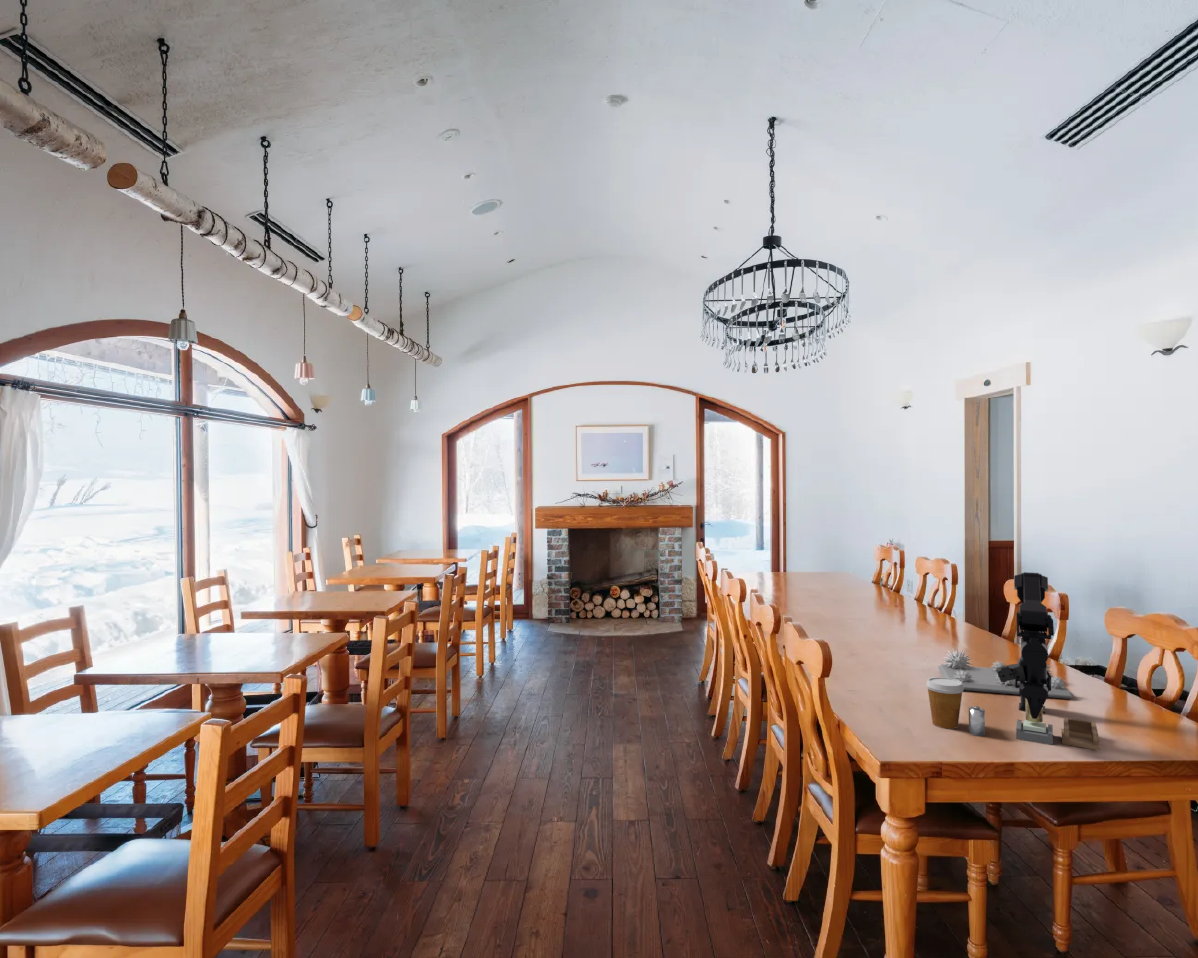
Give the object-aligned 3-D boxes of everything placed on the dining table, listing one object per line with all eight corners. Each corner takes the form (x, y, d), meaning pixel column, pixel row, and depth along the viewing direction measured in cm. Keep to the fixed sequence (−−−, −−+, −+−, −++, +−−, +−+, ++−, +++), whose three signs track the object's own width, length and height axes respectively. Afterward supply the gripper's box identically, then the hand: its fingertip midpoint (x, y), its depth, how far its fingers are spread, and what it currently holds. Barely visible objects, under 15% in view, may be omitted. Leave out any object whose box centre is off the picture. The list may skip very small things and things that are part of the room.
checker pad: (1023, 723, 186) (1023, 719, 186) (1045, 727, 183) (1045, 723, 183) (1023, 729, 182) (1023, 725, 182) (1045, 732, 179) (1045, 728, 179)
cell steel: (969, 729, 188) (969, 703, 188) (985, 732, 186) (985, 706, 186) (968, 734, 185) (968, 707, 185) (984, 737, 183) (984, 710, 183)
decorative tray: (948, 692, 224) (948, 661, 224) (937, 671, 248) (936, 643, 248) (1075, 702, 212) (1074, 669, 213) (1050, 679, 237) (1049, 650, 237)
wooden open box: (1061, 732, 186) (1061, 717, 186) (1098, 737, 182) (1098, 722, 182) (1062, 743, 178) (1062, 728, 178) (1100, 750, 173) (1100, 734, 173)
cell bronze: (1025, 716, 185) (1025, 690, 185) (1042, 719, 183) (1042, 692, 183) (1025, 720, 182) (1025, 693, 182) (1042, 723, 180) (1042, 696, 180)
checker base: (1017, 729, 188) (1017, 719, 188) (1052, 735, 184) (1052, 724, 184) (1016, 738, 181) (1016, 728, 181) (1052, 744, 177) (1052, 733, 177)
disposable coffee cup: (952, 718, 197) (952, 676, 197) (971, 730, 188) (971, 686, 188) (919, 719, 197) (919, 676, 197) (937, 731, 187) (936, 686, 187)
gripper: (1000, 646, 195) (1000, 701, 195) (996, 660, 179) (997, 721, 179) (1047, 651, 189) (1048, 708, 189) (1047, 666, 173) (1048, 729, 173)
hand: (1034, 716), depth 183 cm, fingers closed on cell bronze, 4 cm apart
